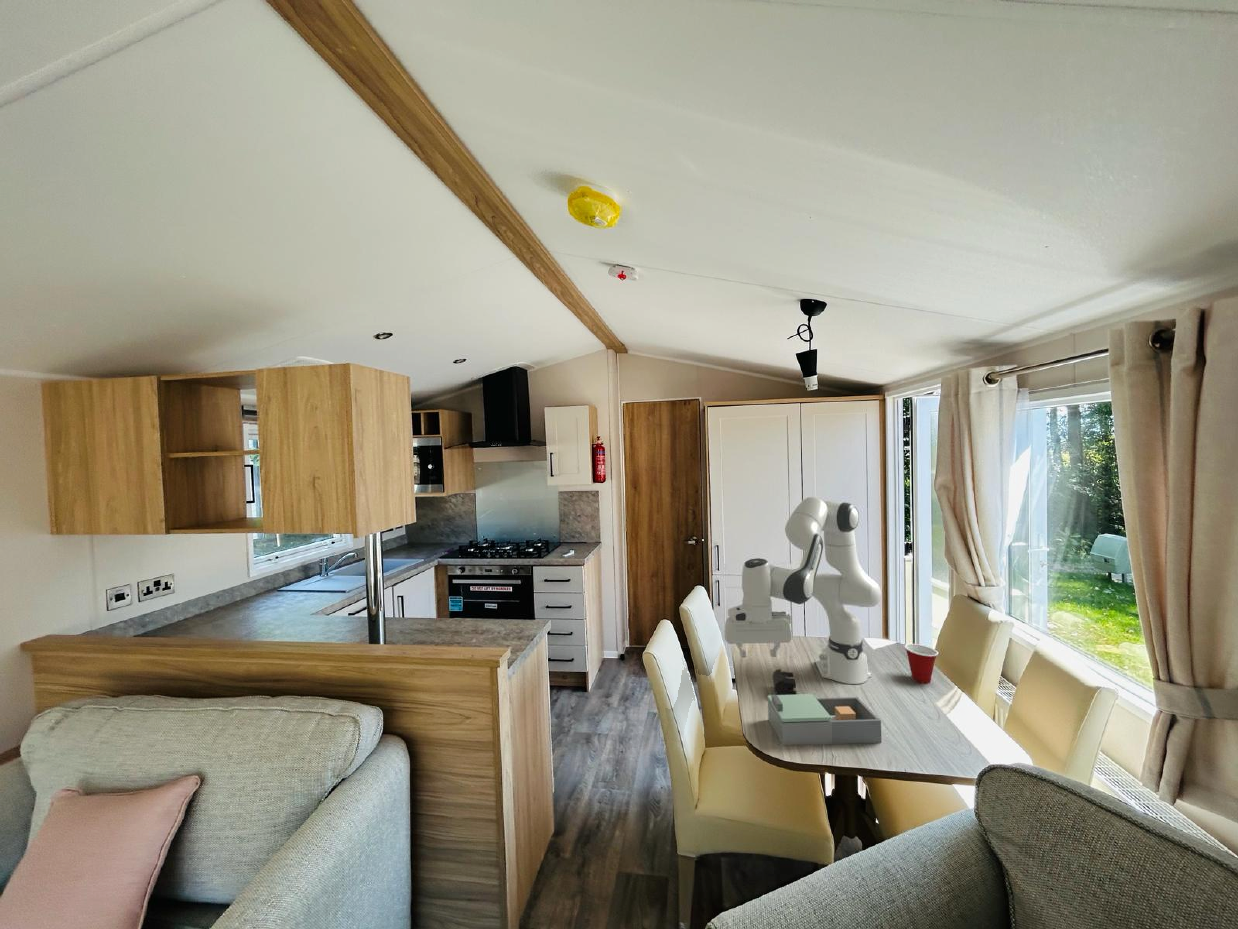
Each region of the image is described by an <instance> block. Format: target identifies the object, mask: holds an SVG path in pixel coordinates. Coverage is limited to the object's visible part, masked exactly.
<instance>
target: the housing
mask: <svg viewBox="0 0 1238 929" xmlns="http://www.w3.org/2000/svg"><path fill="white" fill-rule="evenodd" d="M815 698H816V697H815ZM816 699H817V700H818V701H819V703H820V704H821V705H822V706H823V708H824V709H825V710H826V711H827V712H828V714H829V715H830V716H831V721H802V722H782V721H781V719H780V718H779V716H778V714H777V713H776V711H775V709H774V708H773V706H772V704H771V703H770V701H769V700H768V699H767V713H768V715H767V717H768V719H767V720H768V722H769V723H770V724H771V727H772V728H773V730H774V733H775V734H776V736H777V737H778V739H779V741H780V743H781V744H782V746H798V745H802V746H803V745H833V744H835V745H836V744H837V745H840V744H867V743H868V744H870V743H871V744H873V743H874V744H875V743H882V720H881V719H880V718H879V717H878V716H877V715H876V714H875V713H874V712H873V711H872V709H870V708H869V707H868V706H867V705H866V704H865V703H864V702H863V701H862V700H861V699H860V698H859V697H858V696H846V697H842V696H841V697H819V698H818V697H817V698H816ZM842 706H849V707H850V708H851V709H852V710H853V711H854V712H855V713H856V720H835V707H842Z"/></svg>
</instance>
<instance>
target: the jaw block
mask: <svg viewBox="0 0 1238 929" xmlns="http://www.w3.org/2000/svg"><path fill="white" fill-rule="evenodd" d="M835 720H856V713H855V712H854V711H853V710H852V709H851V708H850V707H849V706H842V707H835Z"/></svg>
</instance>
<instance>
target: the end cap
mask: <svg viewBox="0 0 1238 929" xmlns="http://www.w3.org/2000/svg"><path fill="white" fill-rule="evenodd" d="M772 681H773V685H774V686H773V687H774V691H775V694H776V695H797V691H796V690H794V689H795V688H797V686H796V683H797V682H796V679H795V678H794V673H793V672H792V671H791V672H789V671H782V669H781V668H780V669H779V668H778V669H776V670H775V671H774V672H773V673H772Z"/></svg>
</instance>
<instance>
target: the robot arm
mask: <svg viewBox="0 0 1238 929" xmlns="http://www.w3.org/2000/svg"><path fill="white" fill-rule="evenodd" d="M859 520H860V514H859V510H858V508H857V507H856V506H855V505H854V504H852V503H850V502H840V501H835V500H822V499H820V498H818V497H813V496H810V497H806V498H805V499H803V500H802V501H801V502H800V503H799V504H798V505H797V506H796V507H795V509H794V510H793V512H792V513H791V514H790V517H789V518H788V520H787V522H786V524H785V527H784V531H785V532H784V533H785V535H786V538H787V540H788V541H789V542H790V543H791V544H792V545H793V546H794V547H795V548H797V549H799V550H802V551H803V552H804V553H803V556H802V559H801V562H800V564H799V565H800V566H799V567H797V568H794V569H793V568H792V569H790V568H785V567H779V566H774V565H772V564H770V563H769V561H768V560H767V559H764V558H758V557H757V558H756V557H755V558H750V559H748V560H746V561H745V562H744V564H743V567H742V572H741V590H742V592H743V597H742V600H741V601H742V603H741V604H739V605H736V606H734V607H729V608H728V609H727V615H728V617H727V619H726V620H725V623H724V624H725V625H724V640H725V641H726V643H728V644H729V645H734V644H735V645H736V647H737V648H738V650H739V656H740V658H746V657H747V655H746V654H747V652H746V650H745V649H742V647H743V644H774V646H773V648H772V649H769V650H770V651H769V652H770V653H769V655H770V656H771V657H772V658H776V657H777V654H778V653H777V652H778V650H779V649H780V647H781V644H784V643H785V644H787V643H790V642H791V641H792V639H793V638H792V637H793V636H792V630H791V623H792V616H791V615H790V614H789V613H787V611H773V608H772V607H773V605H772V604H773V603H772V599H771V598H774V599H775V598H776V599H779V600H785V601H788V602H790V603H793V604H797V605H802V604H805V603H806V602H808V601H809V600H810V599H811V598H812V597H813V598H814V599H816V601H817V602H818V603H819V604H820V605H821V606H822V608H823V609H824V611H825V613H826V615H827V619H828V624H829V625H828V626H829V627H828V628H829V635H828V640H827V646H825V647H824V648H822V650H821V651H820V652H821V653H819V654H818V657H819V658H817V659H816V660H815V664H816V666H817V669H818V670H819V673H820V675H821V677H822V678H825V679H829V680H833V681H835V682H839V683H843V684H850V685H855V684H856V685H858V684H863V683H866V682H868V679H869V678H871V677H872V672H871V671H869V670H868V669H869V668H868V661H867V660H868V659H867V653H866V654H865V652H863V651H864V644H863V643H864V642H863V640H862V623H861V621H860V619H859V617H857V616H856V615H855V614H854V613H852V612H850V611H849V609H848V608H847V607H846V606H845V605H847V606H852V607H858V608H872V607H873V608H874V607H876V606H877V605H878V604H879V603H880V601H881V599H882V590H881V588H880V587H881V586H879V584H878V582H877V581H875V580H874V579H872V578H871V577H870V576H869V575H868V574H867V573H866V572H865V571H864V569H863V568H862V566H861V564H860V561H859V556H858V550H857V541H856V533H855V529H856V528H857V527H858V524H859ZM822 532H823V537H822V535H820V534H821V533H822ZM823 550H824V555H825V556H824V557H825V560H826V562H827V564H828V565H829V566H830V567H832V568H834V569H835V570H837V571H838V572H839V573H840V574H836V573H827V572H826V573H818V568H819V565H820V562H821V559H822V556H823Z"/></svg>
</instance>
